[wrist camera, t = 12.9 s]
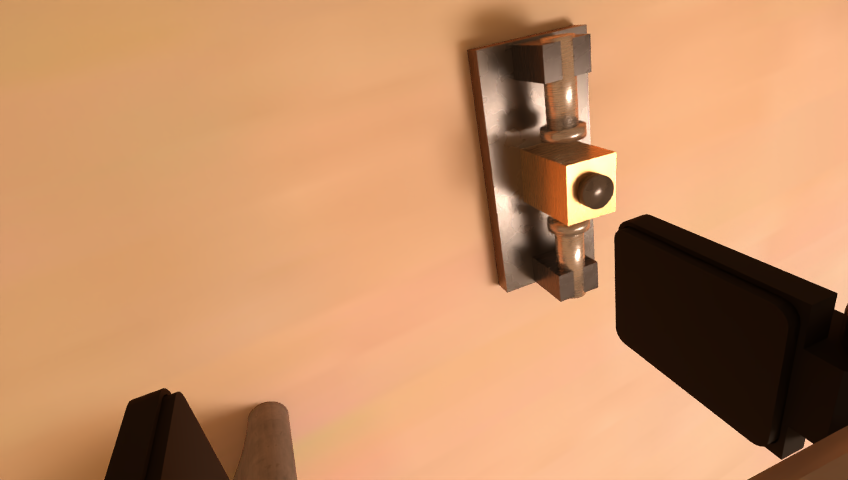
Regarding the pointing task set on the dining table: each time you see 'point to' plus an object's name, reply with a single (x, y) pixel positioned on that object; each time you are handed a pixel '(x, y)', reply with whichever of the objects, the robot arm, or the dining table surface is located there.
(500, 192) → the shaft rig
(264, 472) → the hip flask
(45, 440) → the dining table surface
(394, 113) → the dining table surface
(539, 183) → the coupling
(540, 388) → the dining table surface
